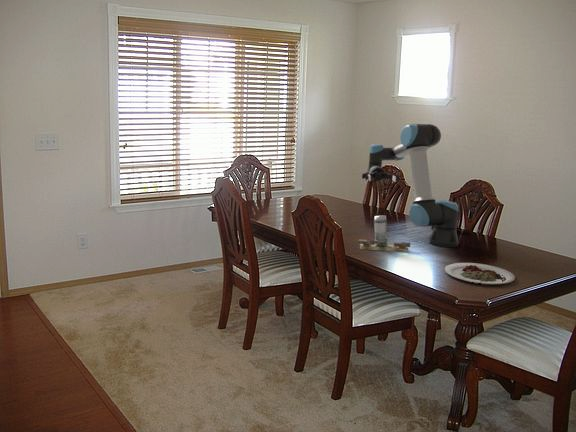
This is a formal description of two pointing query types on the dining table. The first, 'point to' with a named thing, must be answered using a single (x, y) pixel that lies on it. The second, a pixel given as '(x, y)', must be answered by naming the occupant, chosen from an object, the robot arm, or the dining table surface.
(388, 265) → the dining table surface
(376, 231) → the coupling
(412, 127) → the robot arm
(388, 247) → the shaft bench
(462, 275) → the plated food
